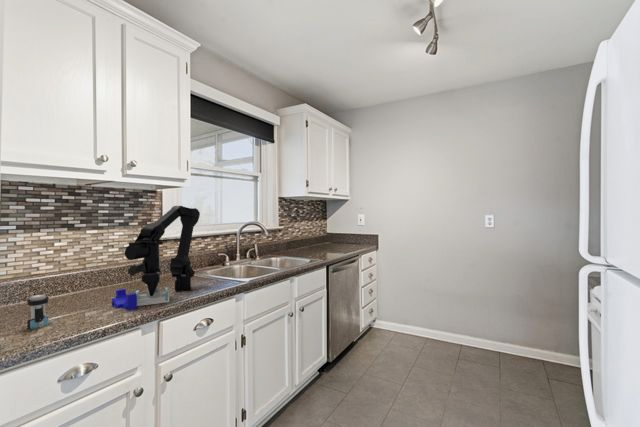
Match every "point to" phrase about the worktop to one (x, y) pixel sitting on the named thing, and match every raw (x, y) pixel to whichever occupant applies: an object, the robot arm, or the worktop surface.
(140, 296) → the end holder
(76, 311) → the worktop surface
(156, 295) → the usb wall charger
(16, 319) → the worktop surface
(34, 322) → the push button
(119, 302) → the cable clip
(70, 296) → the worktop surface
